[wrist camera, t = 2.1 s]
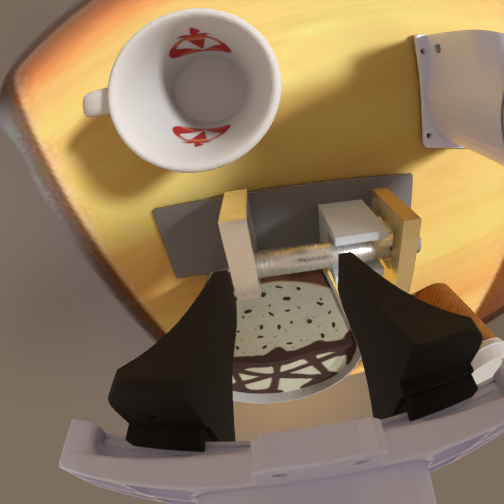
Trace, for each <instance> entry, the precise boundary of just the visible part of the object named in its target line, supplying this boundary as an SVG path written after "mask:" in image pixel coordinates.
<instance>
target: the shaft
mask: <svg viewBox="0 0 504 504" xmlns="http://www.w3.org/2000/svg"><path fill="white" fill-rule="evenodd" d="M218 225H219V229H220V233H221V237H222V241H223V246H224V250H225V254H226V258H227V262H228V265H229V269H230V273H231V277H232V281H233V285H234V289H235V293H236V297H237V300H246V299H254V298H261V282H260V278H263V277H270V276H277V275H284V274H291V273H298V272H305V271H311V270H318V269H325V268H331V267H337V266H338V254H340V253H347V252H352V253H353V254H355V255H356V256H357V257H358V258H360V259H361V260H362V261H363V262H368V261H374V260H380V259H386V258H391V250H392V240H393V232H388V238H387V239H381V240H374V241H367V242H360V243H354V244H347V245H340V246H335V244H334V242H333V240H330V241H323V242H316V243H309V244H302V245H295V246H288V247H281V248H274V249H267V250H260V251H258V247H257V242H256V236H255V231H254V225H253V220H252V214H251V209H250V203H249V198H248V192H247V189H241V190H235V191H229V192H225V193H224V198H223V202H222V207H221V211H220V216H219V220H218ZM420 249H421V238H420V235H419V241H418V248H417V253H418V252H419V251H420Z"/></svg>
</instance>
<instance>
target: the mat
mask: <svg viewBox="0 0 504 504" xmlns="http://www.w3.org/2000/svg"><path fill="white" fill-rule="evenodd" d="M412 179H413V175H412V174H411V173H408V174H394V175H381V176H370V177H359V178H349V179H339V180H330V181H322V182H313V183H305V184H297V185H290V186H283V187H275V188H269V189H262V190H255V191H249V192H248V198H249V203H250V209H251V214H252V220H253V225H254V231H255V236H256V242H257V247H258V251H260V250H267V249H274V248H281V247H288V246H295V245H302V244H309V243H316V242H320V230H319V214H318V205H320V204H327V203H335V202H344V201H352V200H361V199H362V200H363V202H364V203H365V204H366V205H367V206H368V207H369V208H370V210H371V189H377V188H388V189H389V190H390V191H391V192H392V193H394V194H395V195H396V196H397V197H398V198H399V199H400V200H402V201H403V202H404V203H405V204H406V205H407V206H408V207H409V208H410V209H411V197H412ZM223 198H224V196H219V197H213V198H207V199H202V200H197V201H191V202H186V203H181V204H176V205H171V206H166V207H161V208H156V209H154V210H153V213H154V216H155V219H156V222H157V225H158V228H159V231H160V234H161V237H162V240H163V243H164V245H165V248H166V251H167V254H168V257H169V259H170V262H171V265H172V268H173V270H174V273H175V276H176V278H180V277H188V276H195V275H203V274H209V272H211V271H218V270H224V269H229V265H228V262H227V258H226V254H225V250H224V246H223V241H222V237H221V233H220V229H219V225H218V220H219V216H220V211H221V207H222V202H223Z"/></svg>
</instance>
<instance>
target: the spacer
mask: <svg viewBox="0 0 504 504" xmlns="http://www.w3.org/2000/svg"><path fill="white" fill-rule="evenodd" d="M371 211H372V212H373V213H374V214H375V215H376V216H377V218H378V219H379V220H380V221H381V222H382V224H383V225H384V226H385V227H386V228H387V230H388V232H393V240H392V250H391V258H386V259H380V260H379V261H380V262H381V264H382V266H383V267H384V275H383V276H382V277H384V278H385V279H386V280H388V281H389V282H391V283H392V284H394V285H395V286H397V287H398V288H400V289H402V290H403V291H405V292H407V293H408V294H409V291H410V286H411V281H412V276H413V271H414V266H415V260H416V254H417V248H418V241H419V234H420V227H421V218H420V217H419V216H418V215H417V214H416V213H415V212H414V211H413V210H412V209H410V208H409V207H408V206H407V205H406V204H405V203H404V202H403V201H402V200H400V199H399V198H398V197H397V196H396V195H395V194H394V193H392V192H391V191H390V190H389V189H388V188H377V189H371Z"/></svg>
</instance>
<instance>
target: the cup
mask: <svg viewBox="0 0 504 504" xmlns="http://www.w3.org/2000/svg"><path fill="white" fill-rule="evenodd" d="M281 87H282V84H281V73H280V68H279V64H278V61H277V58H276V56H275V54H274V52H273V50H272V48H271V46H270V45H269V43H268V42H267V40H266V39H265V38H264V37H263V35H262V34H261V33H260V32H259V31H258V30H257V29H255V28H254V27H253V26H252V25H250V24H249V23H248V22H246V21H245V20H243V19H241V18H239V17H237V16H235V15H232V14H230V13H227V12H224V11H220V10H215V9H207V8H193V9H184V10H179V11H175V12H172V13H169V14H166V15H163V16H161V17H159V18H157V19H155V20H153V21H152V22H150V23H148V24H147V25H145V26H144V27H143V28H141V29H140V30H139V31H138V32H137V33H135V34H134V35H133V36H132V37H131V38H130V40H129V41H128V42H127V43H126V44H125V46H124V47H123V48H122V50H121V51H120V53H119V55H118V57H117V59H116V61H115V63H114V65H113V68H112V71H111V74H110V78H109V83H108V88H104V89H100V90H96V91H93V92H90V93H88V94H86V95H85V96H84V98H83V110H84V114H85V116H87V117H95V116H101V115H107V114H110V117H111V119H112V122H113V125H114V127H115V129H116V131H117V133H118V135H119V136H120V138H121V139H122V141H123V142H124V143H125V144H126V145H127V147H128V148H129V149H131V150H132V151H133V152H134V153H135V154H136V155H137V156H139V157H140V158H142V159H143V160H145V161H146V162H148V163H150V164H152V165H154V166H157V167H159V168H162V169H166V170H170V171H175V172H184V173H194V172H203V171H209V170H213V169H216V168H220V167H222V166H225V165H227V164H229V163H231V162H233V161H235V160H237V159H239V158H240V157H242V156H243V155H245V154H246V153H247V152H249V151H250V150H251V149H252V148H253V147H254V146H255V145H256V144H257V143H258V142H259V141H260V140H261V139H262V137H263V136H264V135H265V134H266V132H267V131H268V129H269V127H270V126H271V124H272V122H273V120H274V118H275V115H276V113H277V110H278V107H279V103H280V98H281Z"/></svg>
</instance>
